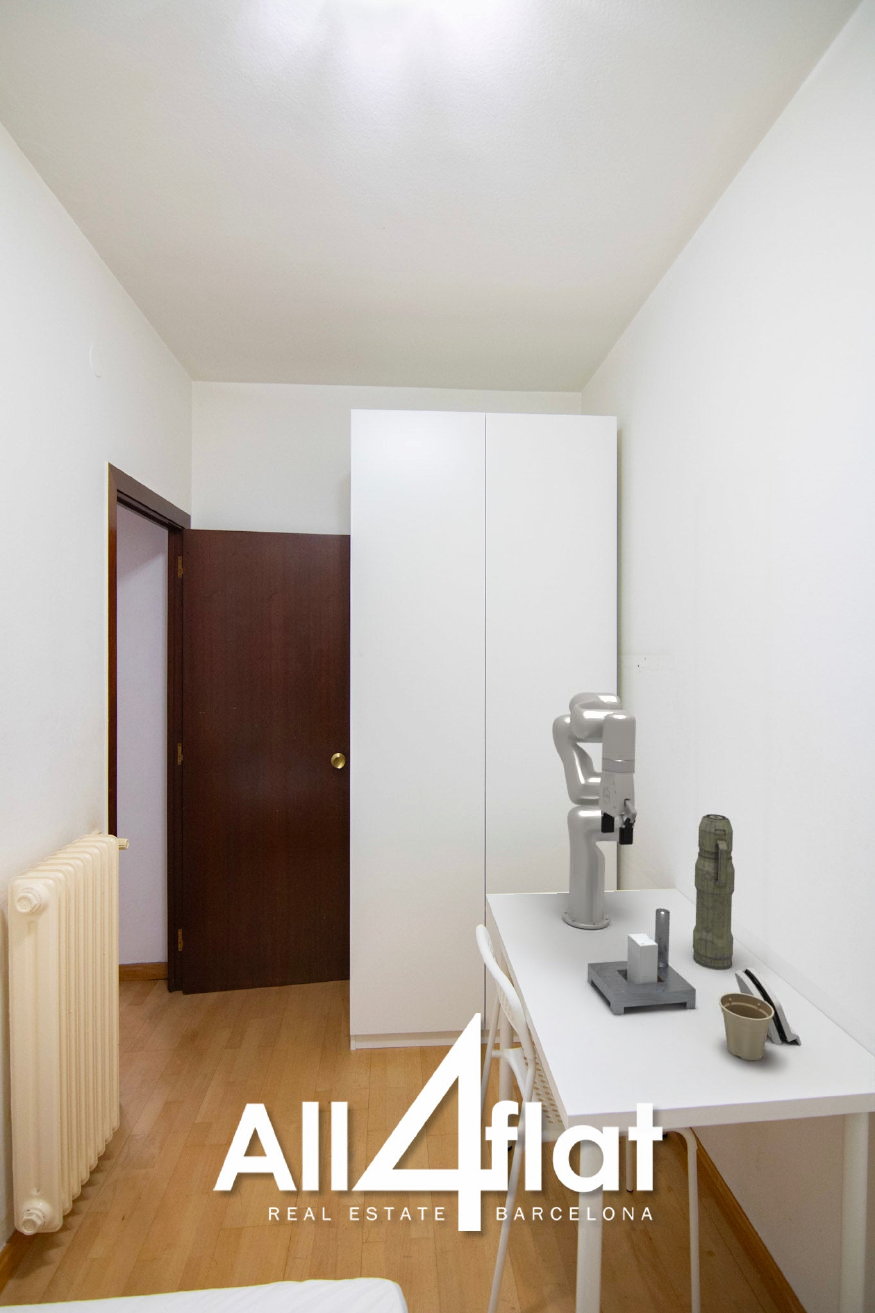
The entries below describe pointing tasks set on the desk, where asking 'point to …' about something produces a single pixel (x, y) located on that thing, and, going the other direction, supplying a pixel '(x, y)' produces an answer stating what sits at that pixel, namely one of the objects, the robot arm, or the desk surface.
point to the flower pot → (745, 1024)
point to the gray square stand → (663, 992)
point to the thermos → (714, 893)
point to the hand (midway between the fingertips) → (616, 838)
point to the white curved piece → (759, 988)
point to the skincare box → (641, 959)
